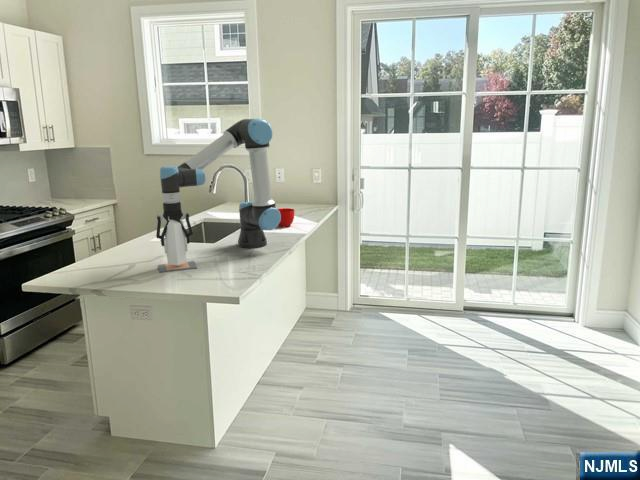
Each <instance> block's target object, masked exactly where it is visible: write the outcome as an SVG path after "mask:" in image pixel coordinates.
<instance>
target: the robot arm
mask: <svg viewBox="0 0 640 480" xmlns="http://www.w3.org/2000/svg"><path fill="white" fill-rule="evenodd" d="M273 134H274V133H273V128H272V126H271V124H270V123H269V122H268V121H267V120H265V119H261V118H245V119H240V120H239V121H237V122H235V123H234V124H232V126H230V127H228V128H227V129H225V130H224V131H223V132H222V135H221V136H219V137H218V138H216V139H215V140H214V141H213V142H210V143H209V144H208V145H207V146H205V147H204V148H203V149H201V150H200V151H198V152H196V153H195V154H194V155H193V156H191V157H190V158H189V159H187V160H185V161H184V162H183V163H181V164H180V165H178V166H176V165H170V166H169V165H166V166H165V165H164V166H161V167H160V169H159V176H160V177H159V178H160V186H161V187H160V188H161V196H162V202H163V203H162V207H163V214H161V215H157V216H156V219H157V226H156V235H155V236H156V239H159V240H160V243H161V247H163V249H164V254H166V255H167V249H166V239H165V234H166V231H167V225H168V223H169V220H171V219H172V220H175V221H178V222H180V224H181V227H182V230H183V231H184V236H185V248H186V253H187V252H189V251H188V245H189V244H190V237H191V236H193V235H194V232H193V230H192V229H193V228H192V224H191V223H190V218H189V217H190V214H189V213H188V212H186V213H185V212H183V211H182V204H181V203H182V202H181V193H180V192H181V191H180V188H187V187H198V186H203V185H204V184H205V183H206V174H205V173H206V172H205V171H204V169H205V168H207V167H208V166H209V165H211V164H212V163H213V162H215V161H216V160H218V159H219V158H221V157H223V155H225V154H226V153H227V152H228V151H230V150H232V149H236V148H238V147H239V146H241V145H244V147H245V150H246V151H247V152H248V155H249V165H250V171H251V182H252V183H251V184H252V190H253V191H252V192H253V200H252V201H245V202H240V204H239V206H238V207H239V209H238V211H239V212H238V213H239V225H240V227H239V228H240V232H239V236H238V240H237V245H238V247H239V248H246V249H255V248H262V247H264V246H267V244H268V242H267V237H266V235H265V232H264V231H273V230H275V229H276V228H277V227H278V224H279V223H280V220H281V214H280V212H279V211H278V209H279V208H277V205H276V201H275V200H274V199H273V198H272V189H271V187H272V186H271V180H270V169H269V158H268V149H269V148H270V142H271V141H272V140H271V139H273ZM168 217H169V220H168ZM182 218H184V219H185V223H186V225H187V229H188V231H187V229H186V227H185V225H184V226H183V224H184V223H183V224H182V223H181V221H180V219H181V220H182ZM163 219H164V220H166V221H167V223H166V225H165V227H164V226H163V230H162V231H161V226H162V220H163ZM166 221H165V222H166Z"/></svg>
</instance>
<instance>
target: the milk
mask: <svg viewBox="0 0 640 480" xmlns="http://www.w3.org/2000/svg"><path fill="white" fill-rule="evenodd" d="M168 220H169V217H168ZM180 221H181V223H182V224H183V226H184V227H185V225H184V221H183V220H182V218H181V219H180ZM166 223H167V221H164V223H163V228H164V227H165V225H166ZM185 236H186V235H185V233H184V231H183V230H182V227H181V224H180V222H178V221H175V220H172V219H171V220H169V223H168V225H167V231H166V234H165V236H164V238H165V239H166V249H167V254H166V260H167V264H170V265H177V266H178V265H181V264H183V263H186V262H188V260H187V252H186V248H185Z"/></svg>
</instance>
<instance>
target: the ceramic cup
mask: <svg viewBox="0 0 640 480" xmlns="http://www.w3.org/2000/svg"><path fill="white" fill-rule="evenodd" d="M277 209H278V211H279V212H280V214H281V220H280V223H279V224H278V226H279V228H288V227H291V225H292V224H293V223H294V219H295V209H294V208H288V207H287V208H286V207H285V208H277ZM278 226H277V227H278Z"/></svg>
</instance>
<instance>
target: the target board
mask: <svg viewBox="0 0 640 480" xmlns="http://www.w3.org/2000/svg"><path fill="white" fill-rule="evenodd" d="M157 266H158V272H159V274H160V273H161V274H162V273H169V272H170V273H171V272H177V271H185V270H186V271H187V270H194V269H198V266H197V264H196V262H195V261H194V260H191V261H187V262H186V263H183V264H181V265H178V266H177V265H170V264H168V263H164V264H158V265H157Z"/></svg>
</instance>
